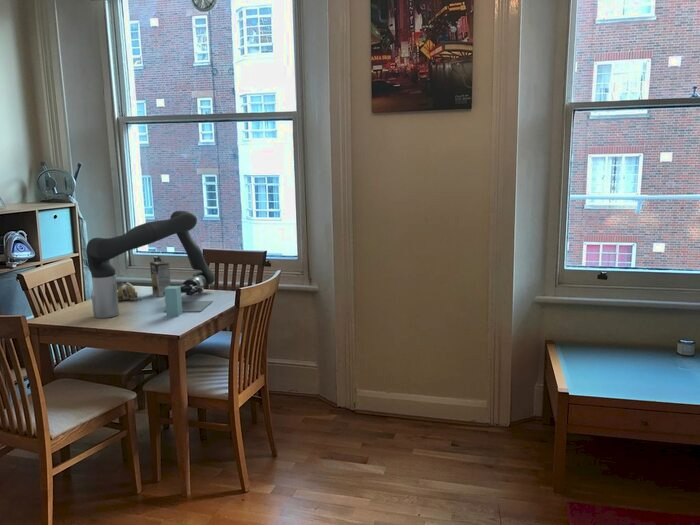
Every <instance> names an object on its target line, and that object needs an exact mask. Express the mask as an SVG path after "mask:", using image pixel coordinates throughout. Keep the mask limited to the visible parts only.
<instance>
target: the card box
mask: <svg viewBox="0 0 700 525" xmlns="http://www.w3.org/2000/svg"><path fill="white" fill-rule="evenodd" d="M180 286H181V285H171V286H168V287H166V288H165V289H164V290H165V296H164V300H165V310H166V312H165V313H166V317H168V318H169V317H170V318H171V317H180V316H181V315H183V312H182V301H183V300H182V294H181V288H180Z"/></svg>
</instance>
